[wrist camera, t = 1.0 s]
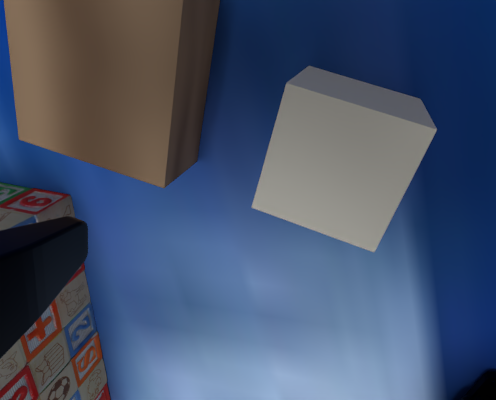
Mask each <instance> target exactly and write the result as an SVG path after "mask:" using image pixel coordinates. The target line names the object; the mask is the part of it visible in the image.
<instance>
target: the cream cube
mask: <svg viewBox="0 0 496 400" xmlns="http://www.w3.org/2000/svg"><path fill="white" fill-rule="evenodd" d="M436 131H437V128H436V127H435V125H434V123H433V121H432V119H431V117H430V115H429V113H428V112H427V110H426V108H425V106H424V104H423V102H422V100H421V99H419V98H416V97H412V96H409V95H406V94H402V93H399V92H396V91H392V90H389V89H386V88H382V87H379V86H376V85H372V84H369V83H366V82H362V81H359V80H355V79H352V78H349V77H345V76H342V75H339V74H335V73H332V72H329V71H325V70H322V69H319V68H315V67H312V66H308V67H306V68H305V69H304V70H302V71H301V72H300V73H299V74H297V75H296V76H295V77H293V78H292V79H291V80H290V81H288V82H287V83H286V86H285V89H284V93H283V97H282V100H281V104H280V107H279V111H278V115H277V118H276V122H275V125H274V129H273V133H272V136H271V140H270V143H269V147H268V150H267V154H266V158H265V161H264V165H263V168H262V172H261V176H260V179H259V183H258V186H257V190H256V194H255V197H254V201H253V204H252V208H254V209H257V210H260V211H262V212H265V213H268V214H270V215H273V216H276V217H279V218H281V219H284V220H287V221H290V222H292V223H295V224H298V225H300V226H303V227H306V228H309V229H311V230H314V231H317V232H320V233H322V234H325V235H328V236H331V237H333V238H336V239H339V240H341V241H344V242H347V243H350V244H352V245H355V246H358V247H361V248H363V249H366V250H369V251H371V252H375V250H376V248H377V246H378V244H379V242H380V240H381V238H382V236H383V235H384V233H385V231H386V229H387V227H388V225H389V223H390V221H391V219H392V217H393V215H394V213H395V211H396V209H397V207H398V205H399V203H400V201H401V199H402V197H403V195H404V193H405V192H406V190H407V188H408V186H409V184H410V182H411V180H412V178H413V176H414V174H415V172H416V170H417V168H418V166H419V164H420V162H421V160H422V158H423V156H424V154H425V152H426V150H427V149H428V147H429V145H430V143H431V141H432V139H433V137H434V135H435V133H436Z"/></svg>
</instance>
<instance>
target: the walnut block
mask: <svg viewBox="0 0 496 400" xmlns="http://www.w3.org/2000/svg"><path fill="white" fill-rule="evenodd" d="M219 4H220V0H4V6H5V15H6V24H7V34H8V43H9V52H10V61H11V70H12V80H13V89H14V98H15V107H16V116H17V125H18V135H19V140H22V141H25V142H28V143H31V144H34V145H37V146H40V147H43V148H46V149H49V150H52V151H55V152H58V153H61V154H64V155H67V156H70V157H73V158H76V159H79V160H82V161H85V162H88V163H91V164H94V165H97V166H99V167H102V168H105V169H108V170H111V171H114V172H117V173H120V174H123V175H126V176H129V177H132V178H135V179H138V180H141V181H144V182H147V183H150V184H153V185H156V186H159V187H162V188H165V187H166V186H168V185H169V184H170V183H171V182H172V181H174V180H175V179H176V178H177V177H179V176H180V175H181V174H182V173H183V172H185V171H186V170H187V169H188V168H190V167H191V166H192V165H193V164H194V163H196V162H197V158H198V151H199V144H200V137H201V130H202V123H203V116H204V109H205V102H206V95H207V88H208V81H209V74H210V67H211V60H212V53H213V46H214V39H215V32H216V25H217V18H218V11H219Z"/></svg>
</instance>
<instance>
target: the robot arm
mask: <svg viewBox="0 0 496 400" xmlns="http://www.w3.org/2000/svg"><path fill="white" fill-rule="evenodd" d="M87 254H88V226H87V224H86V223H85V222H84V221H82V220H79V219H77V218H74V217H71V216H65V217H60V218H56V219H51V220H46V221H42V222H37V223H32V224H28V225H23V226H18V227H14V228H9V229H5V230H0V359H1V358H2V357H3V356H4V355H5V354H6V353H7V351H8V350H9V349H10V348H11V347H12V346H13V345H14V344H15V343H16V342H17V341H18V340H19V339H20V338H21V337H22V336H23V335H24V334H25V333H26V332H27V331H28V330H29V329H30V328H31V327H32V325H33V324H34V323H35V322H36V321H37V320H38V319H39V318H40V317H41V316H42V314H43V313H44V312H45V311H46V310H47V308H48V307H49V306H50V305H51V303H52V302H53V301H54V300H55V298H56V297H57V296H58V294H59V293H60V292H61V291H62V289H63V288H64V287H65V286H66V284H67V283H68V282H69V281H70V279H71V278H72V277H73V275H74V274H75V273H76V272H77V270H78V269H79V268H80V267H81V265H82V264H83V263H84V261H85V259H86V257H87ZM493 381H494V382H493ZM460 400H496V372H487V373H485V374H484V375H483V376H482V377H481V378H480V379H479V380H478V381H477V383H476V384H475V385H474V386H473V387H472V388H471V389H470V391H469V392H468V393H467V394H466V395H465V396H464V397H462V398H461V399H460Z"/></svg>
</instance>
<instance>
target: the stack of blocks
mask: <svg viewBox="0 0 496 400" xmlns="http://www.w3.org/2000/svg"><path fill="white" fill-rule="evenodd" d="M65 216H71V217H74V218H75V214H74V209H73V204H72V199H71V196H70V195H68V194H63V193H58V192H52V191H47V190H41V189H36V188H27V187H22V186H17V185H11V184H6V183H1V182H0V230H5V229H9V228H14V227H18V226H23V225H28V224H32V223H37V222H42V221H46V220H51V219H56V218H60V217H65ZM84 269H85V266H84V263H83V264H82V265H81V267H80V268H79V269H78V270H77V272H76V273H75V274H74V275H73V277H72V278H71V279H70V281H69V282H68V283H67V284H66V286H65V287H64V288H63V289H62V291H61V292H60V293H59V294H58V296H57V297H56V298H55V300H54V301H53V302H52V303H51V305H50V306H49V307H48V308H47V310H46V311H45V312H44V313H43V314H42V316H41V317H40V318H39V319H38V320H37V321H36V322H35V323H34V324H33V325H32V327H31V328H30V329H29V330H28V331H27V332H26V333H25V334H24V335H23V336H22V337H21V338H20V339H19V340H18V341H17V342H16V343H15V344H14V345H13V346H12V347H11V348H10V349H9V350H8V351H7V353H6V354H5V355H4V356H3V357H2V358H1V359H0V400H110V395H109V391H108V386H107V383H106V382H107V376H106V371H105V366H104V361H103V359H102V351H101V346H100V340H99V335H98V332H97V331H96V323H95V318H94V314H93V309H92V303H91V301H90V295H89V290H88V285H87V280H86V275H85V271H84Z"/></svg>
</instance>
